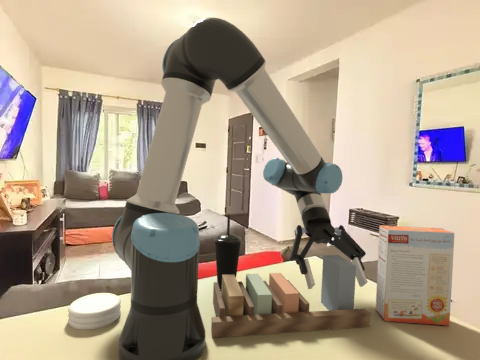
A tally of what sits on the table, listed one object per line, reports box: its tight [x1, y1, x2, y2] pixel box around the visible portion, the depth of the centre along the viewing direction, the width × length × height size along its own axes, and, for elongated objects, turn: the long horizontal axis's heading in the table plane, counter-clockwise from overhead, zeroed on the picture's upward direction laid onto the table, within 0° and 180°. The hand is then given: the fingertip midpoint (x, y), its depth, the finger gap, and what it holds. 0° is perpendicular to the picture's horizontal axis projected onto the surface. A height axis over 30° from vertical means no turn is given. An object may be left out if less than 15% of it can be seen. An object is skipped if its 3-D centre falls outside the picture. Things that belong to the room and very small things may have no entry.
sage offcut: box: [245, 273, 272, 315], centre depth 66 cm, size 3×12×7 cm, turn 11°
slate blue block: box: [320, 254, 356, 311], centre depth 69 cm, size 4×8×12 cm, turn 11°
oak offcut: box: [220, 274, 244, 316], centre depth 65 cm, size 3×12×7 cm, turn 11°
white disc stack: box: [67, 292, 122, 331], centre depth 62 cm, size 10×10×4 cm
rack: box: [210, 279, 372, 339], centre depth 66 cm, size 34×14×5 cm, turn 101°
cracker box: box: [375, 224, 455, 327], centre depth 67 cm, size 14×6×21 cm, turn 84°
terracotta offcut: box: [268, 272, 299, 313], centre depth 67 cm, size 3×12×7 cm, turn 11°
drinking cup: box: [213, 214, 243, 291], centre depth 80 cm, size 8×8×20 cm
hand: (338, 285), depth 70 cm, fingers open, 13 cm apart
